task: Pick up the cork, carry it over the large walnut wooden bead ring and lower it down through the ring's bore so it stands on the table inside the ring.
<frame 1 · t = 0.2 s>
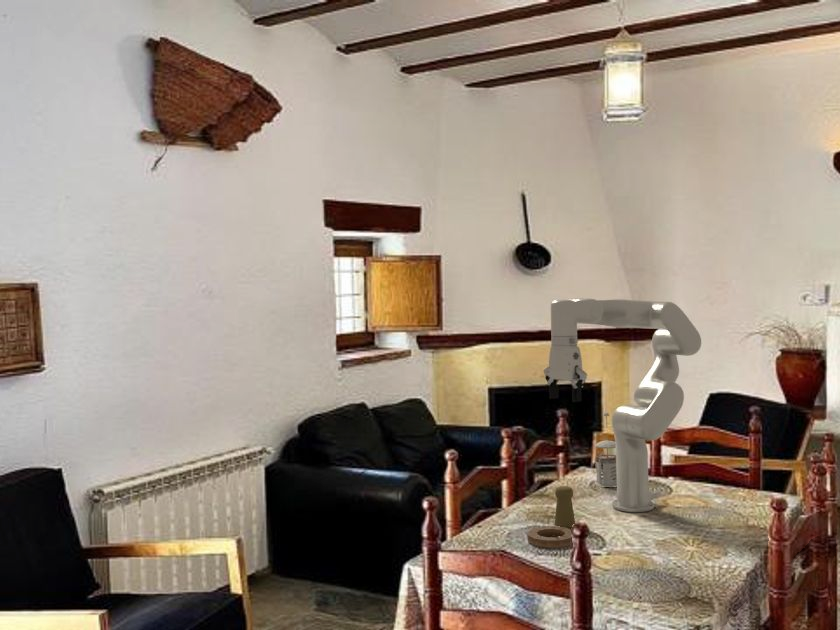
hand: (565, 400, 242), 36 cm above the table, tool pointing down, fingers open, 9 cm apart
bead ring: (551, 540, 225), on the table
cork: (565, 525, 239), on the table
french press: (607, 485, 282), on the table
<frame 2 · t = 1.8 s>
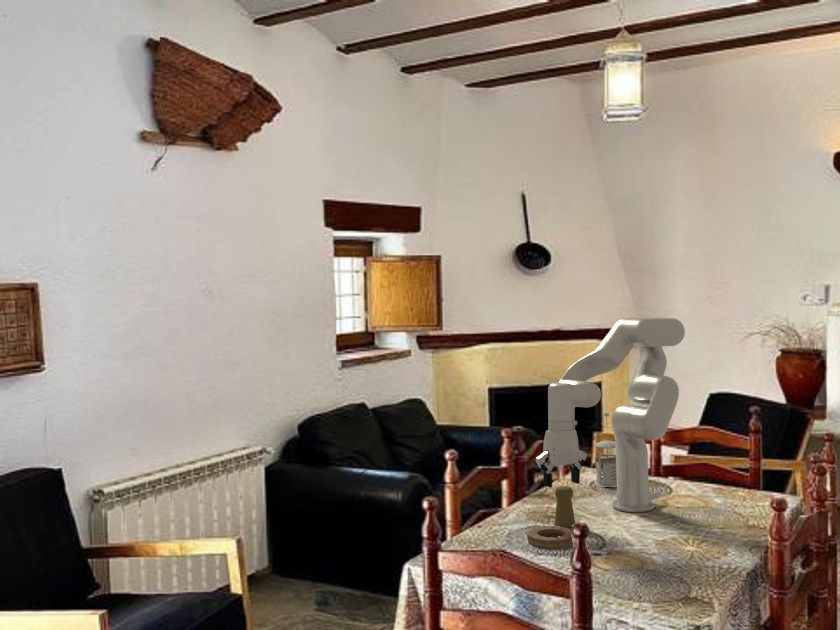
hand: (561, 484, 238), 12 cm above the table, tool pointing down, fingers open, 9 cm apart
nothing on the table moved.
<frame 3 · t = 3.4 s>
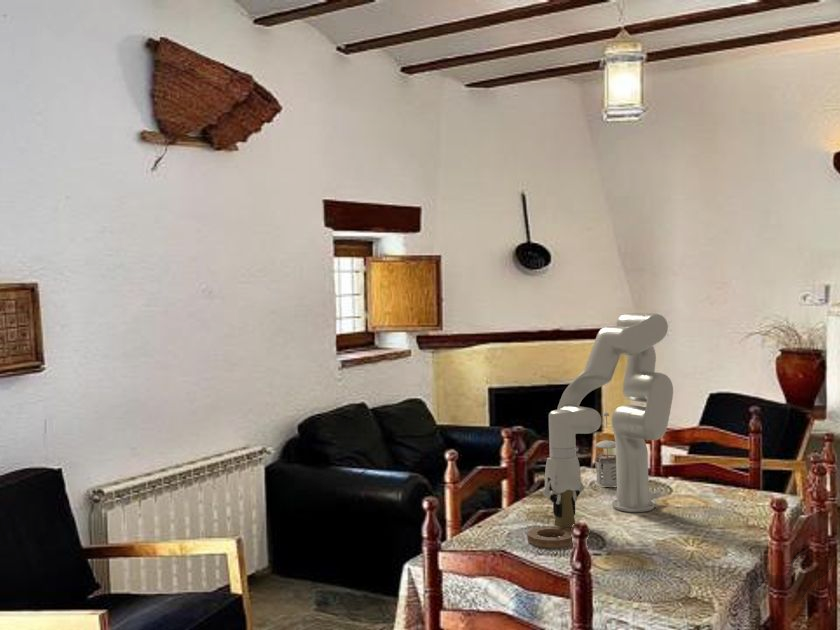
hand: (564, 514, 239), 3 cm above the table, tool pointing down, fingers closed on cork, 4 cm apart
cork: (565, 524, 239), on the table, touching gripper
everything else where it was.
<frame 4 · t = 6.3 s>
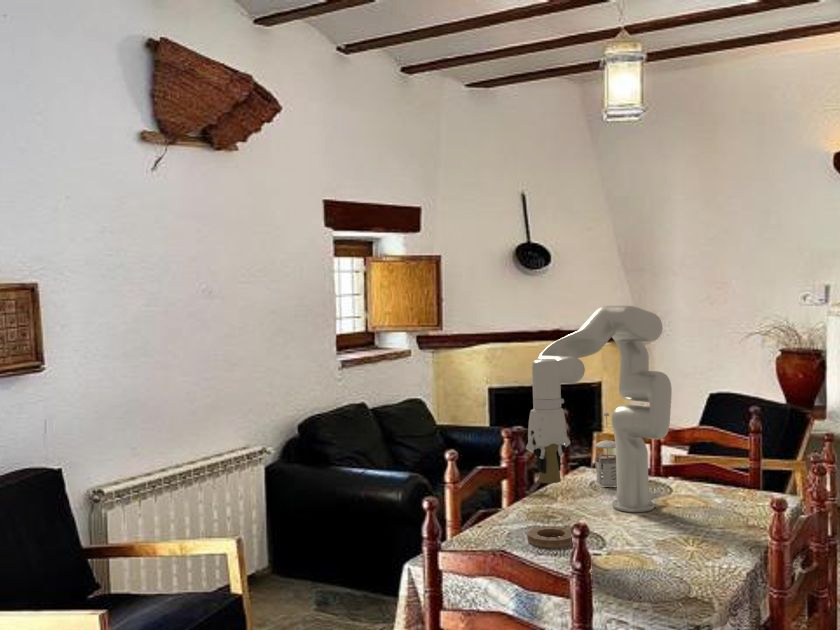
hand: (549, 470, 224), 19 cm above the table, tool pointing down, fingers closed on cork, 4 cm apart
cork: (549, 481, 224), point 16 cm above the table, touching gripper
everything else where it was.
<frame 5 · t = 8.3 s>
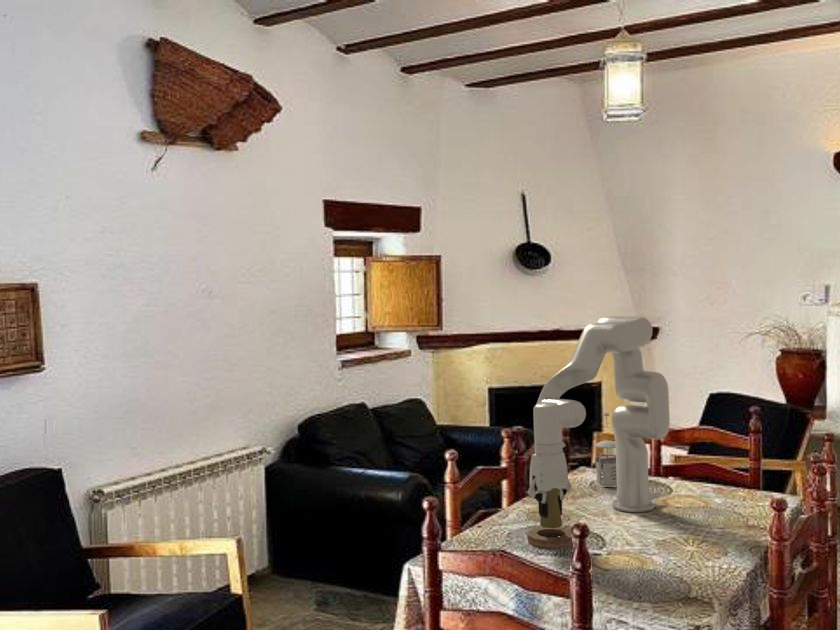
hand: (550, 514, 225), 7 cm above the table, tool pointing down, fingers closed on cork, 4 cm apart
cork: (551, 525, 225), point 4 cm above the table, touching gripper
everything else where it was.
when the fingers open (4 cm above the table, at t = 9.4 s): cork stays where it is, on the table.
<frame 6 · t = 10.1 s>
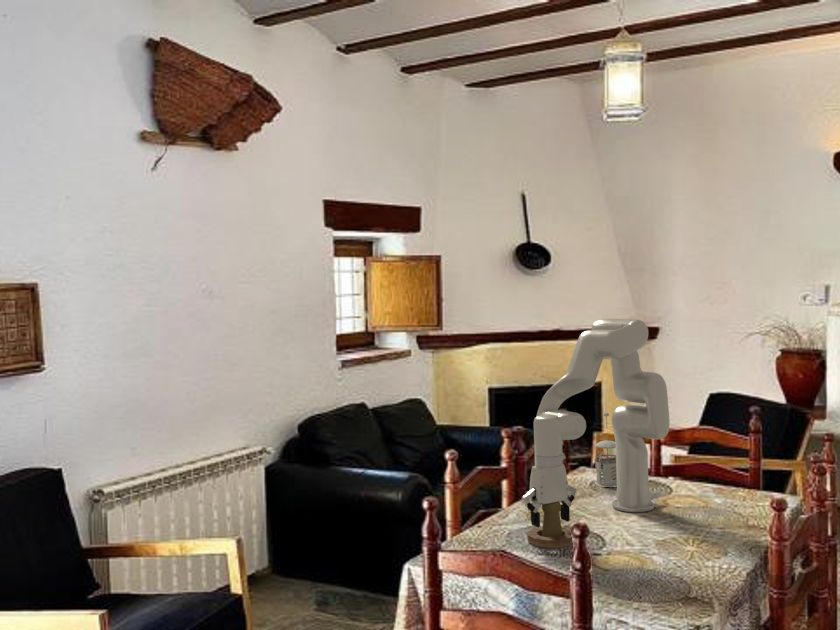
hand: (550, 522, 225), 5 cm above the table, tool pointing down, fingers open, 9 cm apart
cork: (552, 540, 225), on the table
everything else where it was.
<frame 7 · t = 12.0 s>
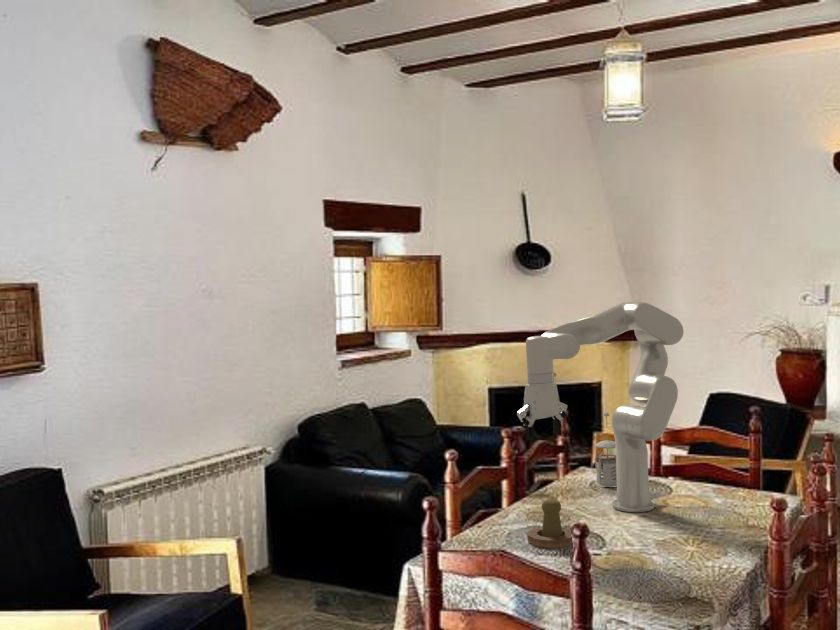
hand: (544, 437, 239), 26 cm above the table, tool pointing down, fingers open, 9 cm apart
nothing on the table moved.
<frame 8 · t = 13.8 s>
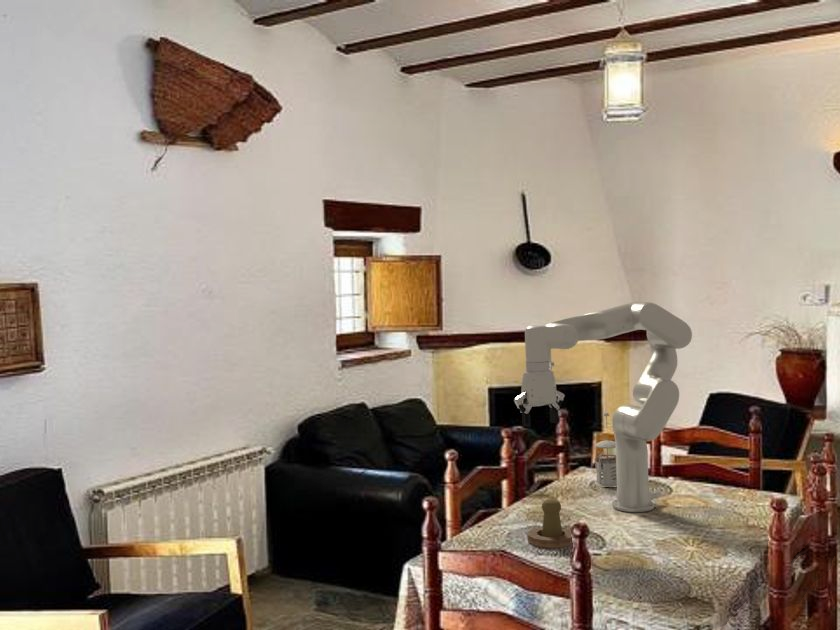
hand: (540, 424, 244), 28 cm above the table, tool pointing down, fingers open, 9 cm apart
nothing on the table moved.
at the end: cork 0.5 cm from the bead ring (horizontally); cork on the table; cork tilted 0° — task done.
